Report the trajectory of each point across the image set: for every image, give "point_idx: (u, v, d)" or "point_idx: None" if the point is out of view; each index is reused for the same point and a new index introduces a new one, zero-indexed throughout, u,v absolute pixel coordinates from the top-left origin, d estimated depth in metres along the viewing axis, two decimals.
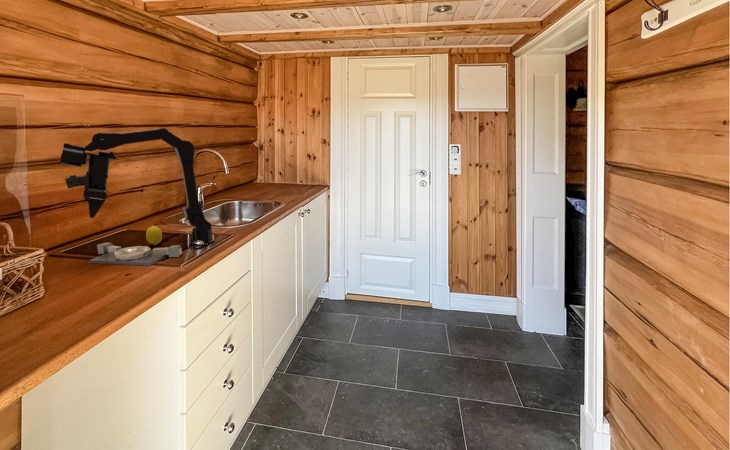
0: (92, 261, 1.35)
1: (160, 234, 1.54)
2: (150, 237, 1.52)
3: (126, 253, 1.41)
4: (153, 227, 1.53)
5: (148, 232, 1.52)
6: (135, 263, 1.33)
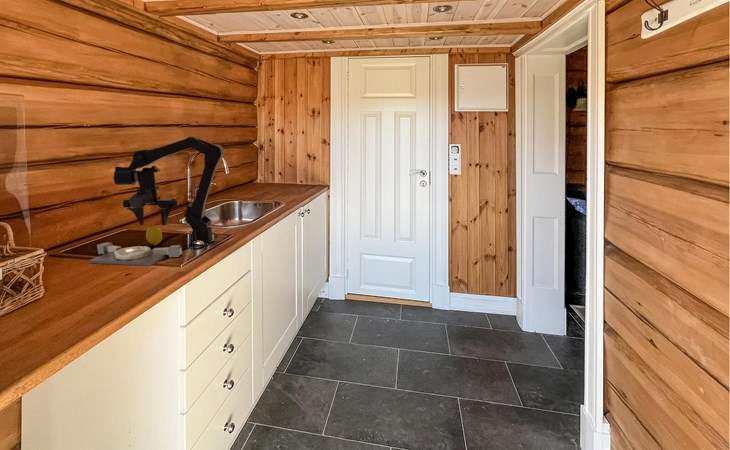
0: (92, 261, 1.35)
1: (160, 234, 1.54)
2: (150, 237, 1.52)
3: (126, 253, 1.41)
4: (153, 227, 1.53)
5: (148, 232, 1.52)
6: (135, 263, 1.33)
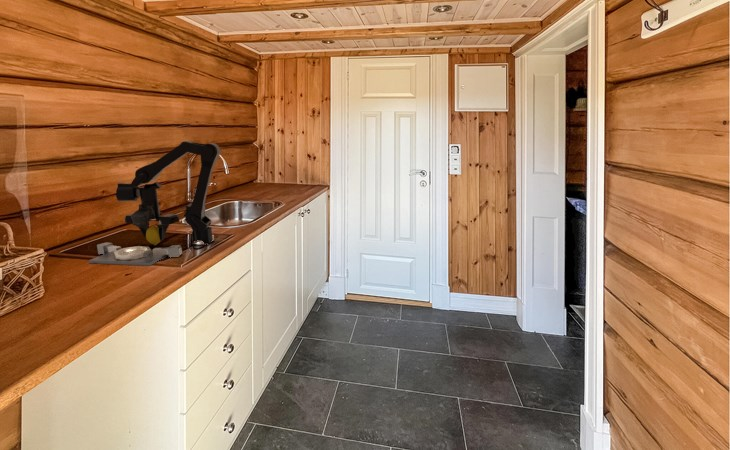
0: (92, 261, 1.35)
1: None
2: (150, 237, 1.52)
3: (126, 253, 1.41)
4: (154, 227, 1.53)
5: (148, 232, 1.52)
6: (135, 263, 1.33)
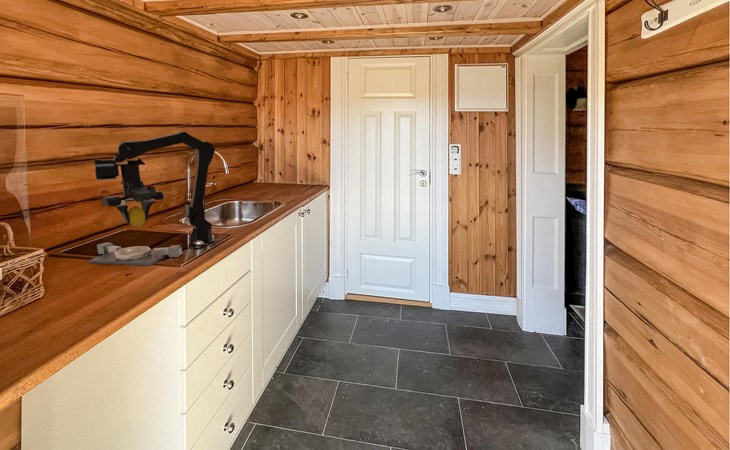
0: (92, 261, 1.35)
1: None
2: (140, 217, 1.42)
3: (126, 253, 1.41)
4: (138, 207, 1.43)
5: (137, 212, 1.41)
6: (135, 263, 1.33)
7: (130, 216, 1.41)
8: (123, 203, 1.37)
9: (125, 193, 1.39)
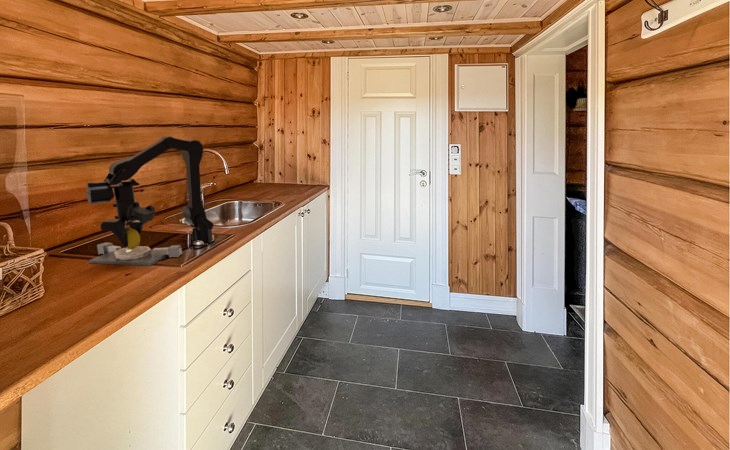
0: (92, 261, 1.35)
1: None
2: (138, 238, 1.39)
3: (126, 253, 1.41)
4: None
5: (135, 234, 1.38)
6: (135, 263, 1.33)
7: (128, 239, 1.37)
8: (124, 226, 1.33)
9: (122, 216, 1.34)
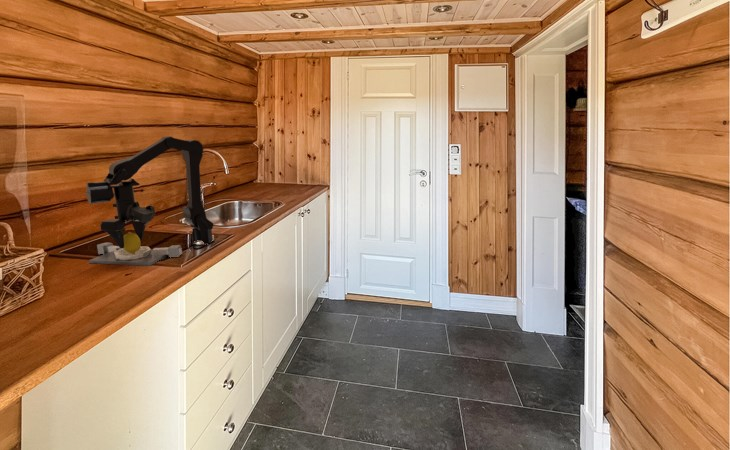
0: (92, 261, 1.35)
1: None
2: (139, 242, 1.40)
3: (126, 253, 1.41)
4: (133, 233, 1.40)
5: (135, 238, 1.38)
6: (135, 263, 1.33)
7: (129, 243, 1.37)
8: None
9: (122, 215, 1.34)
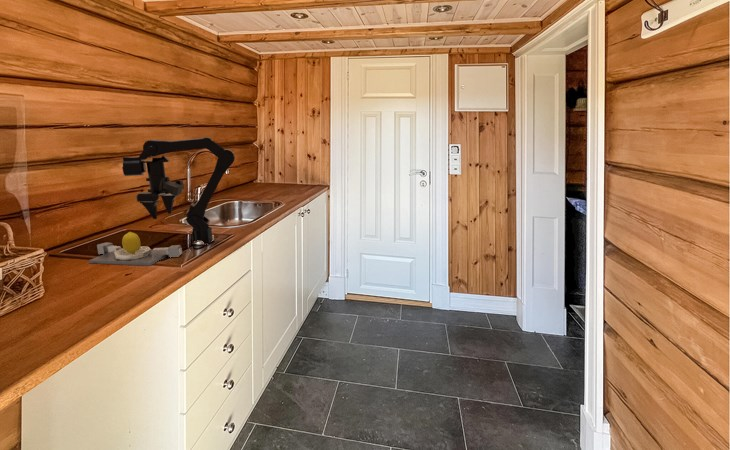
0: (92, 261, 1.35)
1: None
2: (139, 242, 1.40)
3: (126, 253, 1.41)
4: (133, 233, 1.40)
5: (135, 238, 1.38)
6: (135, 263, 1.33)
7: (129, 243, 1.37)
8: None
9: (155, 189, 1.46)
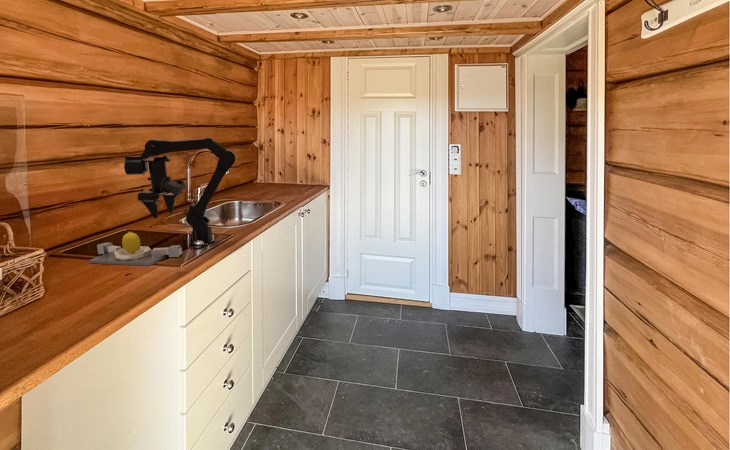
0: (92, 261, 1.35)
1: None
2: (139, 242, 1.40)
3: (126, 253, 1.41)
4: (133, 233, 1.40)
5: (135, 238, 1.38)
6: (135, 263, 1.33)
7: (129, 243, 1.37)
8: None
9: (156, 188, 1.47)
